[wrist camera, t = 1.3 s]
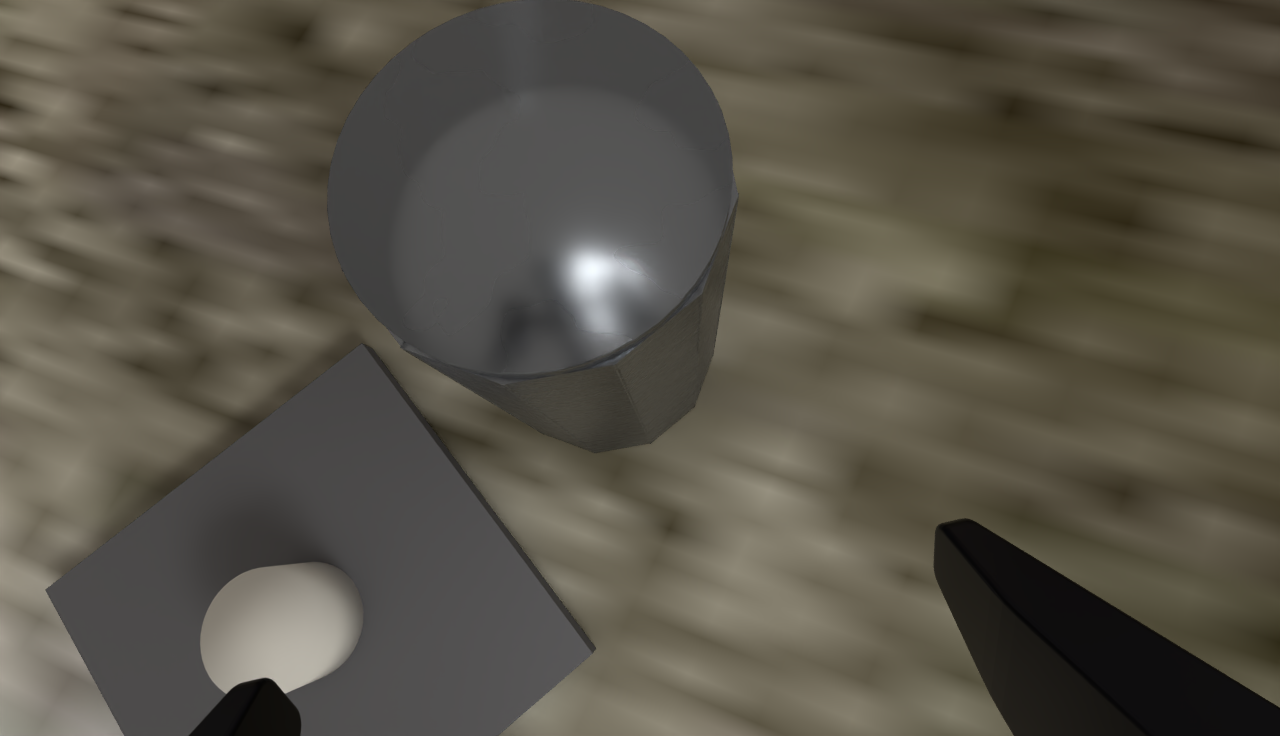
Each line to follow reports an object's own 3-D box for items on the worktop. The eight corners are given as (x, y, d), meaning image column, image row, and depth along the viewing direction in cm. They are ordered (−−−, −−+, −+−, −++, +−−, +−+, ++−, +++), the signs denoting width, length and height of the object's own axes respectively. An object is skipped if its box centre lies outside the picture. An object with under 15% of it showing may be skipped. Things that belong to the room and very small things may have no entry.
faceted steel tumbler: (753, 358, 23) (823, 188, 11) (590, 494, 22) (483, 465, 10) (621, 213, 24) (561, -69, 13) (466, 336, 24) (252, 158, 12)
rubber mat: (596, 648, 21) (580, 670, 18) (261, 939, 20) (182, 1016, 17) (372, 348, 24) (325, 323, 21) (67, 587, 23) (-32, 597, 20)
